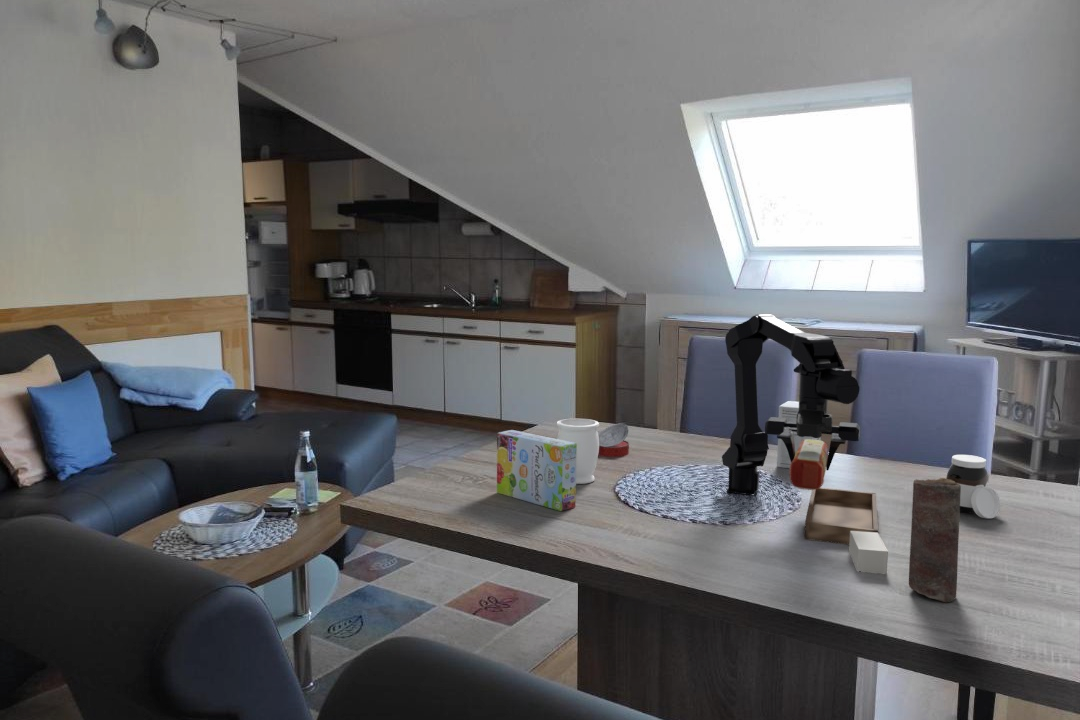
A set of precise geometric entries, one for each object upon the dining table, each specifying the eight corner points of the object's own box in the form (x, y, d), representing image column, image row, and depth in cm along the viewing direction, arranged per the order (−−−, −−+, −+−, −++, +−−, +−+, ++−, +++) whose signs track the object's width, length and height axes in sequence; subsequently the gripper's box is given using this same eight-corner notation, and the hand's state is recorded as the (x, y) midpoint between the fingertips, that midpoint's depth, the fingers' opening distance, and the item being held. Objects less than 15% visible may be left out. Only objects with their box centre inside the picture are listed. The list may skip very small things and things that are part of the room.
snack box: (577, 507, 185) (578, 442, 183) (561, 512, 181) (561, 446, 179) (511, 488, 199) (511, 428, 197) (495, 493, 195) (494, 431, 193)
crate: (804, 539, 164) (804, 522, 164) (811, 501, 189) (812, 486, 188) (877, 548, 159) (878, 530, 159) (875, 508, 184) (876, 493, 183)
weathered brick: (907, 599, 136) (915, 483, 133) (905, 582, 143) (912, 471, 140) (958, 606, 133) (967, 488, 131) (953, 589, 140) (961, 476, 137)
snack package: (798, 463, 184) (800, 434, 183) (828, 467, 182) (831, 438, 181) (787, 488, 165) (790, 456, 164) (822, 493, 162) (824, 460, 161)
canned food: (627, 471, 232) (632, 445, 226) (592, 467, 232) (596, 441, 226) (626, 444, 241) (631, 419, 235) (592, 441, 241) (597, 415, 235)
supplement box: (820, 464, 221) (823, 403, 219) (812, 472, 213) (815, 409, 211) (785, 459, 226) (787, 399, 224) (775, 466, 219) (778, 405, 216)
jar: (550, 483, 203) (551, 424, 201) (565, 472, 213) (565, 416, 211) (591, 487, 199) (591, 428, 197) (604, 477, 209) (604, 419, 207)
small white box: (857, 572, 148) (858, 549, 147) (848, 553, 157) (850, 530, 157) (886, 575, 147) (888, 551, 146) (876, 555, 156) (877, 532, 156)
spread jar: (955, 500, 190) (958, 451, 188) (1008, 511, 182) (1012, 460, 180) (935, 511, 182) (939, 460, 180) (991, 523, 174) (995, 470, 172)
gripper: (762, 399, 167) (759, 473, 169) (859, 405, 160) (855, 482, 162) (769, 391, 178) (767, 460, 180) (861, 396, 170) (857, 469, 172)
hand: (810, 468), depth 173 cm, fingers closed on snack package, 6 cm apart
